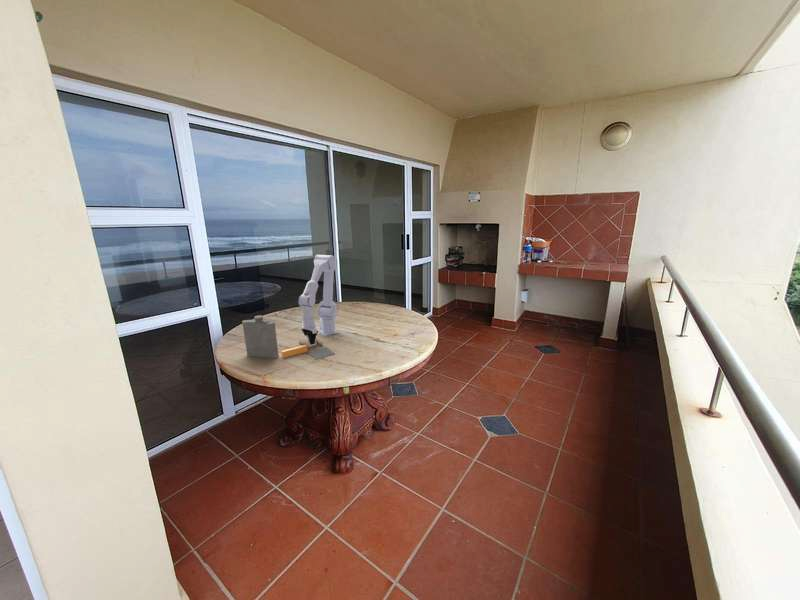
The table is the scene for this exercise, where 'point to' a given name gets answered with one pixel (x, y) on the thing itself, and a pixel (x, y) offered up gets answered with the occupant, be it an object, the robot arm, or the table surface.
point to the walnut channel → (307, 345)
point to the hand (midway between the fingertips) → (310, 342)
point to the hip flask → (260, 338)
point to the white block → (308, 341)
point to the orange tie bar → (294, 351)
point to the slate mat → (321, 353)
